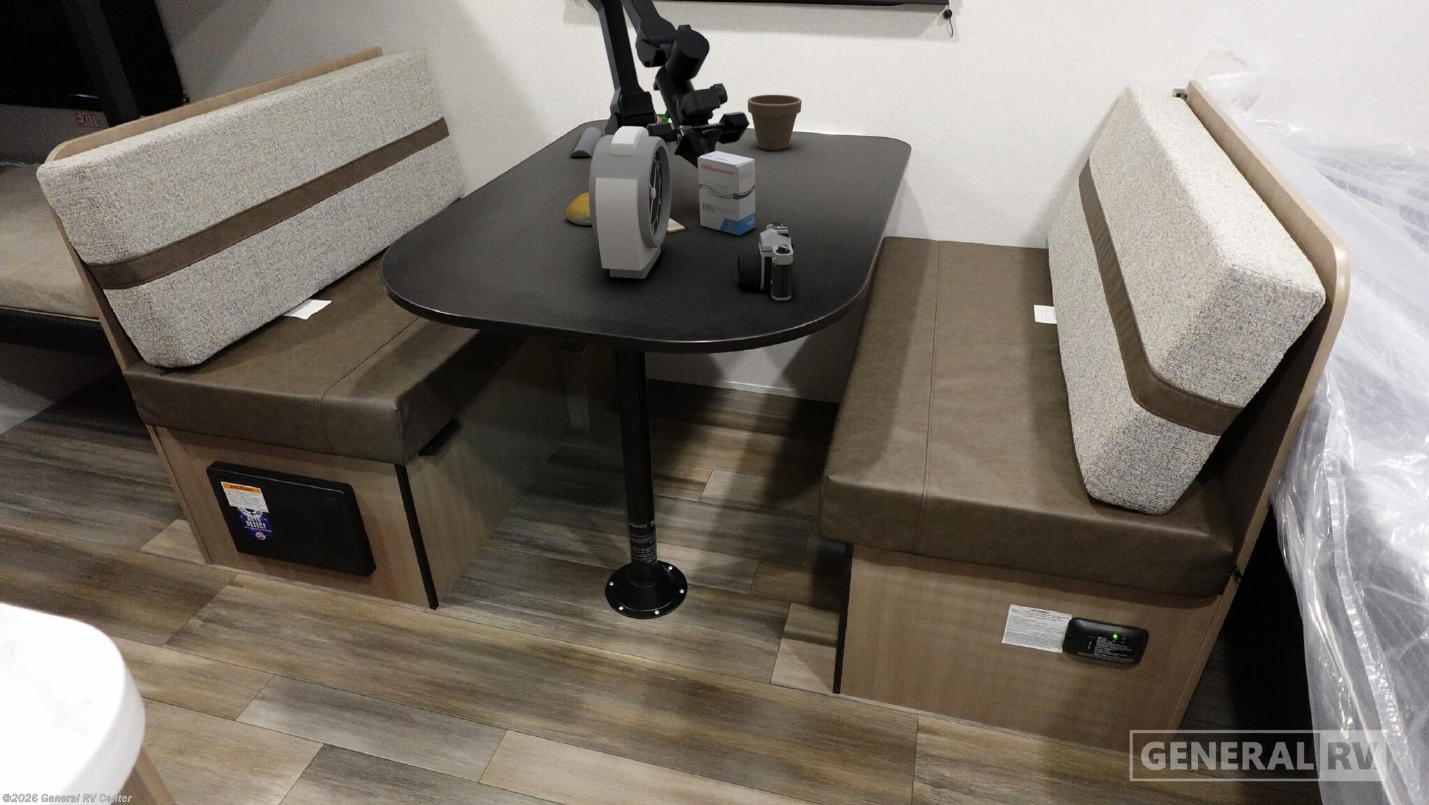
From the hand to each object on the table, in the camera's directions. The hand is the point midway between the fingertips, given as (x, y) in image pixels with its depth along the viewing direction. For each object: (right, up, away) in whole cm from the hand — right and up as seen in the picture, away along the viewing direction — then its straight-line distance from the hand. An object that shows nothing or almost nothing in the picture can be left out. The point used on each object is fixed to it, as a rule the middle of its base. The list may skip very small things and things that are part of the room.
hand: (712, 177), depth 147 cm
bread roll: (-21, -6, +5) cm, 22 cm away
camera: (+7, -21, -20) cm, 30 cm away
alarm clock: (-12, -17, -13) cm, 24 cm away
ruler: (-10, -6, +5) cm, 12 cm away
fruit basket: (-14, +19, +47) cm, 53 cm away
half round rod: (-28, +18, +45) cm, 56 cm away
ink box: (+3, -8, 0) cm, 9 cm away
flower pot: (+13, +18, +44) cm, 49 cm away
